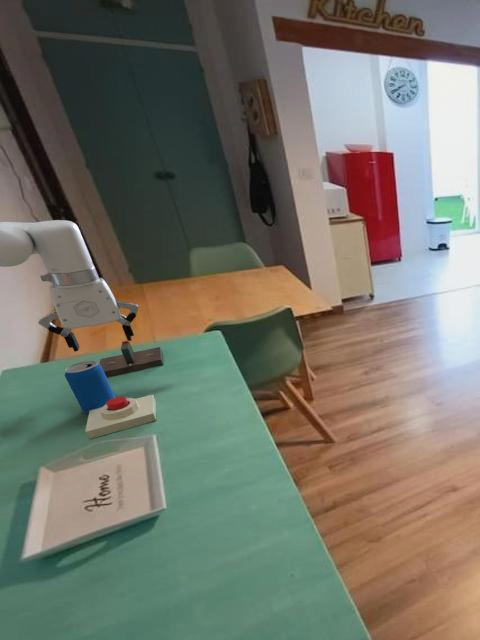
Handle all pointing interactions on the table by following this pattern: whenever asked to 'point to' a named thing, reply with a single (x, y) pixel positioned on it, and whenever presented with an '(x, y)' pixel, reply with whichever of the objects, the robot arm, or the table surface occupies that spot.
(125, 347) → the knob
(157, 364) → the panel
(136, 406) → the housing
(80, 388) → the beverage can
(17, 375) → the table surface
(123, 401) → the button
